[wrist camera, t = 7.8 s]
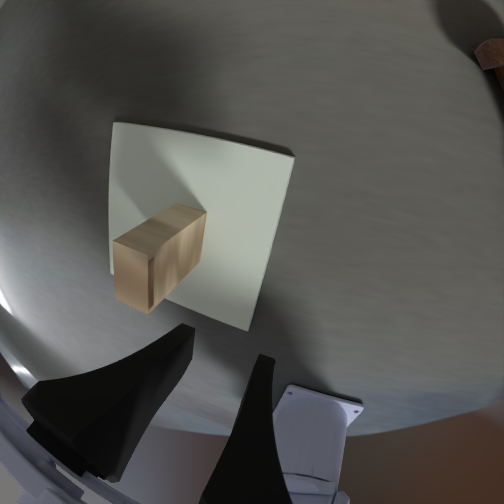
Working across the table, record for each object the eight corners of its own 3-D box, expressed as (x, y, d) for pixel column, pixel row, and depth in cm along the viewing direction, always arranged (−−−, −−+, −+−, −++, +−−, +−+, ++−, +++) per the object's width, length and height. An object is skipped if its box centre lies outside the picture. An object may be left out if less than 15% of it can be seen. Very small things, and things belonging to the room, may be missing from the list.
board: (249, 327, 24) (247, 331, 23) (114, 270, 26) (110, 273, 26) (295, 157, 17) (293, 158, 17) (118, 121, 20) (113, 122, 19)
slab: (200, 261, 22) (148, 315, 16) (172, 251, 22) (115, 298, 16) (207, 212, 20) (148, 255, 14) (176, 203, 20) (111, 240, 14)
